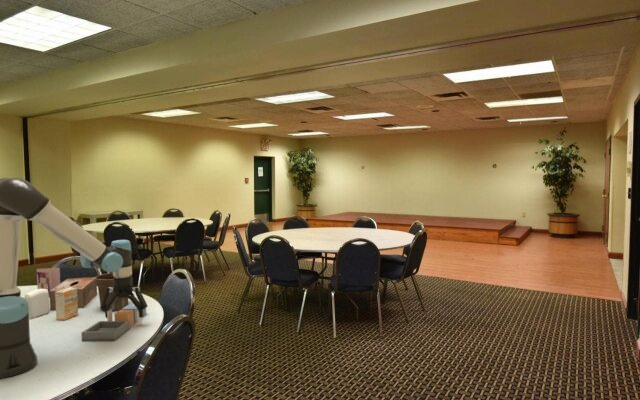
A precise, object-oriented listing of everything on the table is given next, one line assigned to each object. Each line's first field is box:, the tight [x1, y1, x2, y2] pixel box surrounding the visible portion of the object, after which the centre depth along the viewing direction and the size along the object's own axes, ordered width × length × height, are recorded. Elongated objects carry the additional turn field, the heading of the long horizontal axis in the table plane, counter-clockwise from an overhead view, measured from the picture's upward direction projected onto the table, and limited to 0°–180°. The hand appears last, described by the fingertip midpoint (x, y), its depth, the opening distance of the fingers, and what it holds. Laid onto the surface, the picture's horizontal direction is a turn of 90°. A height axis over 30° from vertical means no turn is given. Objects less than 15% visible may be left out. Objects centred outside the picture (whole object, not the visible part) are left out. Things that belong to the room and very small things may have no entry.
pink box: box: [36, 267, 61, 299], centre depth 231 cm, size 11×7×15 cm, turn 67°
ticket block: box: [121, 302, 147, 324], centre depth 191 cm, size 12×6×6 cm, turn 179°
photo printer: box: [24, 288, 51, 320], centre depth 197 cm, size 10×4×12 cm, turn 162°
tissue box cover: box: [49, 276, 98, 312], centre depth 218 cm, size 26×14×10 cm, turn 14°
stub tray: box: [81, 320, 131, 342], centre depth 171 cm, size 13×13×4 cm
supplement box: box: [55, 288, 79, 321], centre depth 193 cm, size 8×5×13 cm, turn 168°
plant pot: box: [94, 272, 133, 312], centre depth 207 cm, size 16×16×16 cm
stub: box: [114, 310, 135, 327], centre depth 182 cm, size 5×6×6 cm
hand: (124, 324), depth 182 cm, fingers open, 12 cm apart
